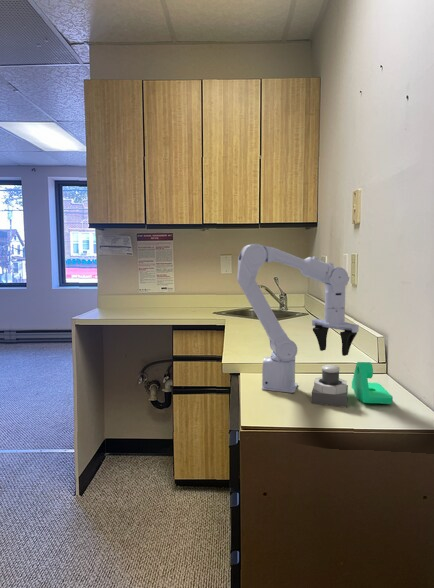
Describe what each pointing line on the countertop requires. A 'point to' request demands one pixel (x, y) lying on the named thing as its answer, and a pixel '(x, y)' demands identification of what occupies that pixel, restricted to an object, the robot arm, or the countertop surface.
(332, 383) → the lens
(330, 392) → the square octagon-collar plate
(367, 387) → the camera mount
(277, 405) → the countertop surface
